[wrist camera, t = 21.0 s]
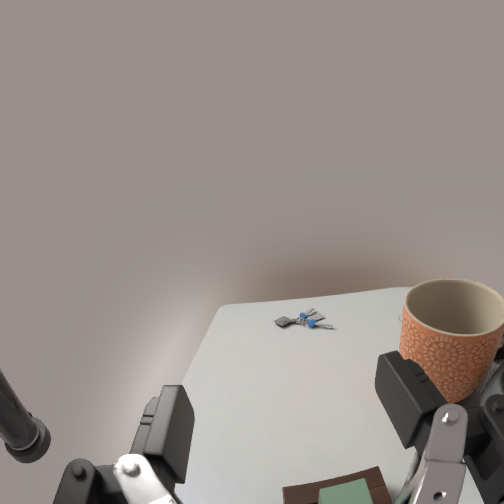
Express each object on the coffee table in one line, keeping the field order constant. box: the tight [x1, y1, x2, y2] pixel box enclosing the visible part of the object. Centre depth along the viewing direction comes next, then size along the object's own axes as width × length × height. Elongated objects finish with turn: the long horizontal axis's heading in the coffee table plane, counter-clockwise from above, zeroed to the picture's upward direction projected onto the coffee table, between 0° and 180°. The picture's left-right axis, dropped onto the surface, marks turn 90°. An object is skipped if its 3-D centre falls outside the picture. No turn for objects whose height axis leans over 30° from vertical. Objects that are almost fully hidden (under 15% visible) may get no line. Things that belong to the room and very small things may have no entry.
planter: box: [399, 278, 504, 404], centre depth 32 cm, size 17×17×15 cm
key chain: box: [274, 308, 333, 327], centre depth 63 cm, size 14×8×1 cm, turn 70°
